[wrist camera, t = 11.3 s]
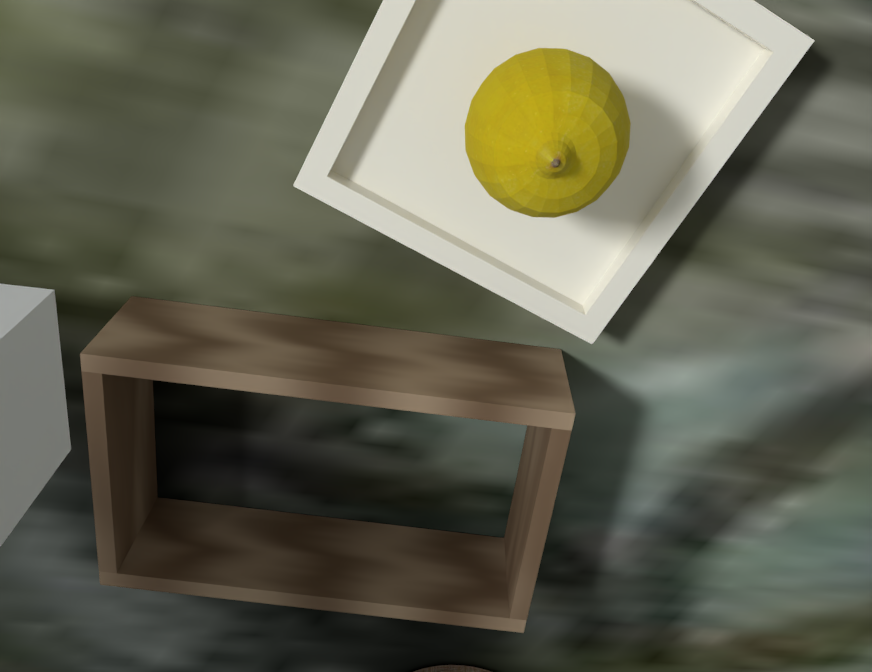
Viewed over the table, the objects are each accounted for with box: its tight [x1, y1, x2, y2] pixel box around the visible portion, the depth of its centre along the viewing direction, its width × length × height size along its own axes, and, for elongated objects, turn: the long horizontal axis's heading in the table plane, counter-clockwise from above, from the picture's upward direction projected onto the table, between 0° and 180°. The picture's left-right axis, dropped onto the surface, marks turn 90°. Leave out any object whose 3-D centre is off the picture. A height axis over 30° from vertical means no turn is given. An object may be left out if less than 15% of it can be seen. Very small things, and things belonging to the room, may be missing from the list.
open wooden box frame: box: [80, 296, 576, 633], centre depth 37 cm, size 20×12×6 cm, turn 83°
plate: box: [293, 0, 815, 344], centre depth 31 cm, size 14×14×2 cm
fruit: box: [465, 48, 631, 218], centre depth 28 cm, size 6×6×8 cm
